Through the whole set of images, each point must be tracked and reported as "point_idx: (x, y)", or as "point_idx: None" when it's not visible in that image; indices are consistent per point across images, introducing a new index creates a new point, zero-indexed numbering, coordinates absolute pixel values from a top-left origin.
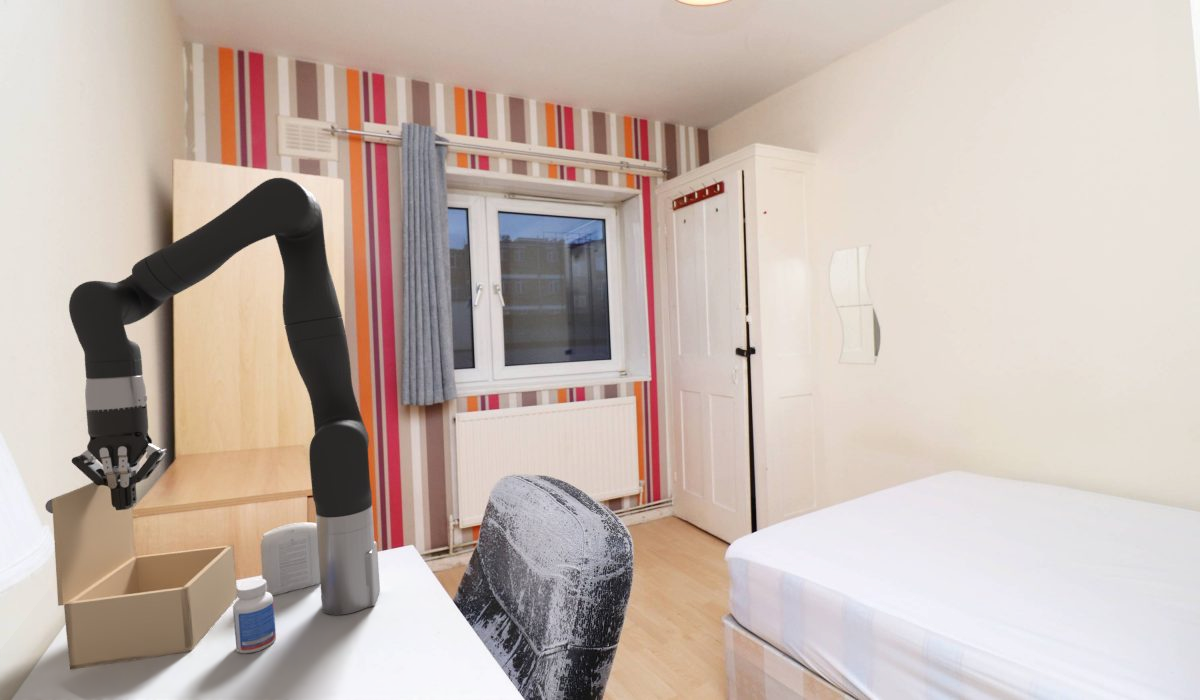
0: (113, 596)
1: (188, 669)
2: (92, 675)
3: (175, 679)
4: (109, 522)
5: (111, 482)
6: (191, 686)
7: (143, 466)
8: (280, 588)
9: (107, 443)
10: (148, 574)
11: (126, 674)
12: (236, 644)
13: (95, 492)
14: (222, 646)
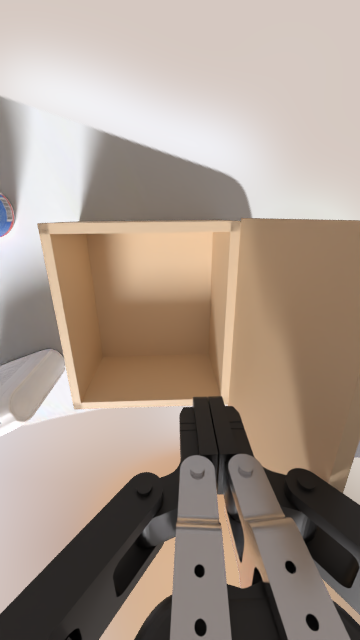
0: (166, 231)
1: (53, 167)
2: (181, 194)
3: (56, 143)
4: (256, 411)
5: (252, 478)
6: (20, 113)
7: (95, 567)
8: (33, 354)
9: None
10: (201, 380)
11: (135, 181)
12: (1, 197)
13: (306, 452)
14: (40, 222)
